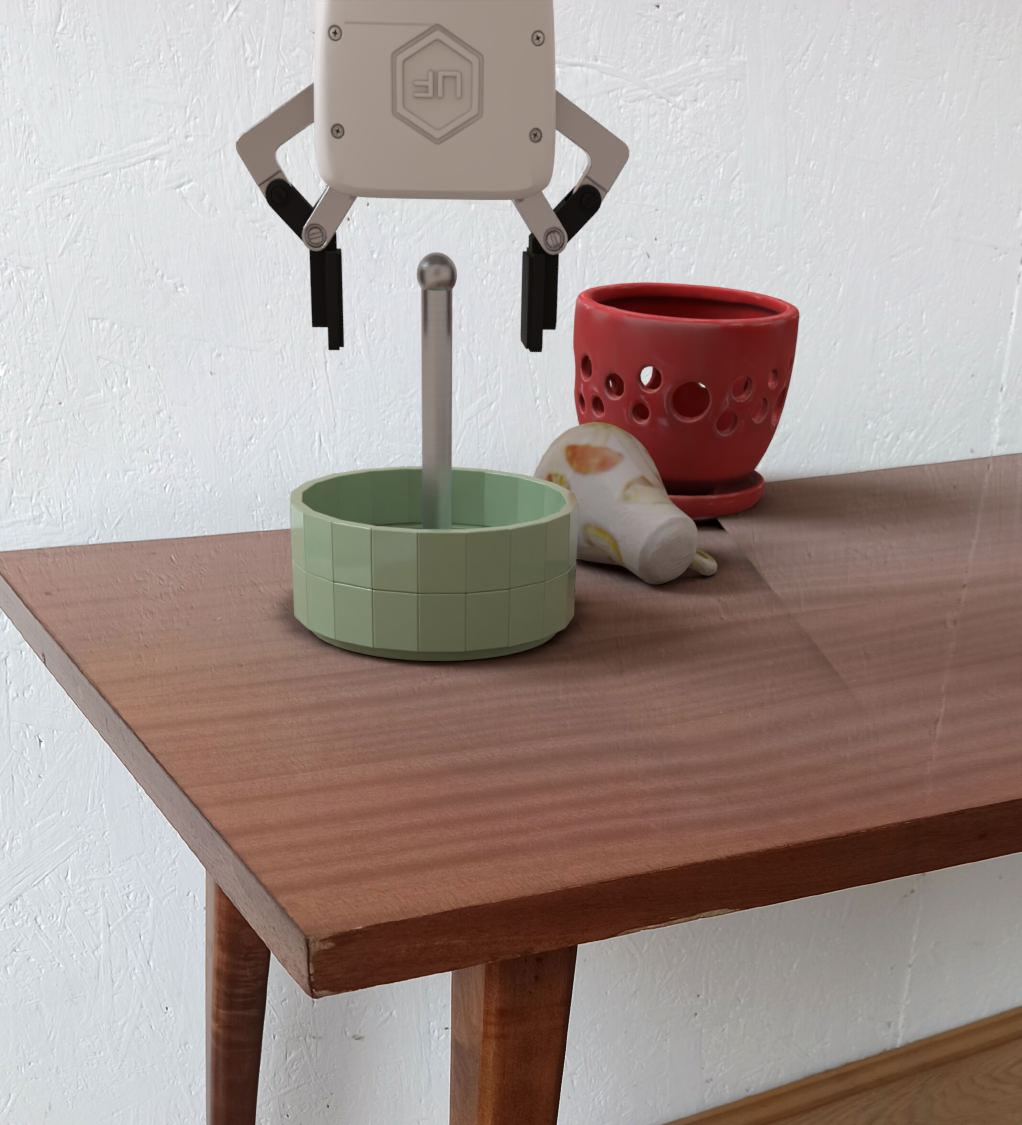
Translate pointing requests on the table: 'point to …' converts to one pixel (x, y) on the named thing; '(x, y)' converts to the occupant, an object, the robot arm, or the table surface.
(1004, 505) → the table surface
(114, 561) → the table surface
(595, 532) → the mug
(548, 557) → the bowl
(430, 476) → the ball topped metal stand
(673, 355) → the flower pot
